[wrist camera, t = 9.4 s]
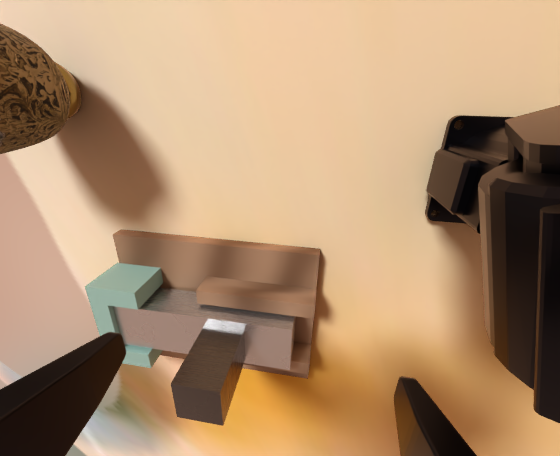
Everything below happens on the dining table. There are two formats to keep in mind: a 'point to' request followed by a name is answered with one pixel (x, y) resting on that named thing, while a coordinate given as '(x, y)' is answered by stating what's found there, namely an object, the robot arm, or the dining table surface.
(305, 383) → the dining table surface
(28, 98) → the cup
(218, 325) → the grey t-shaped block
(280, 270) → the slide base
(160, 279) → the socket block
